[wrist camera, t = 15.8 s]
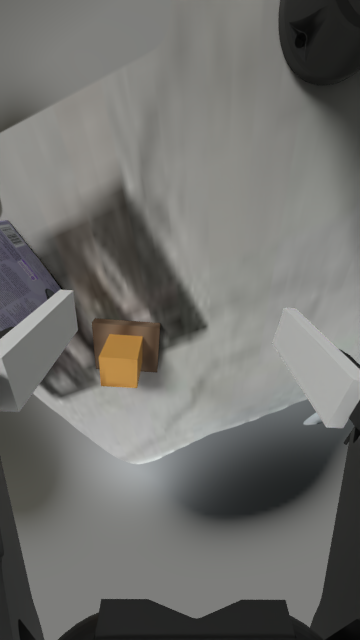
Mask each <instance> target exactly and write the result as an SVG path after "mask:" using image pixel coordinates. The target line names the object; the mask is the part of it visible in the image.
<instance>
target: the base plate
mask: <svg viewBox="0 0 360 640" xmlns="http://www.w3.org/2000/svg"><path fill="white" fill-rule="evenodd" d="M92 330H93V341H94V352H95V363H96V369H100V367H99V355H100V353H101V351H102V349H103V347H104V345H105V343H106V340H107V338H108V336H109V334H115V335H130V336H143V347H142V366H141V371H144V372H157V368H158V352H159V336H160V323H150V322H136V321H123V320H109V319H96V318H95V319H94V320H93V322H92Z"/></svg>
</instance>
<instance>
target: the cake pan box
mask: <svg viewBox="0 0 360 640" xmlns="http://www.w3.org/2000/svg"><path fill="white" fill-rule="evenodd" d="M59 290H62V289H61V288H60V287H59V285H58V284H57V283H56V281H55V280H54V279H53V278H52V276H51V274H50V272H49V271H48V270H47V268H46V267H45V266H44V265H43V263H42V262H41V261H40V259H39V258H38V257H37V256H36V255H35V254H34V253H33V252H32V250H31V249H30V248H29V247H28V245H27V244H26V243H25V241H24V240H23V239H22V238H21V236H20V235H19V234H18V233H17V231H16V230H15V229H14V228H13V226H12V225H11V223H10V222H9V221H8V220H5V221H0V331H2V330H4V329H6V328H9V327H15V326H17V325H18V324H19V323H20V322H21V321H23V320H24V319H25V318H26V317H27V316H29V315H30V314H31V313H32V312H34V311H35V310H36V309H37V308H38V307H40V306H41V305H42V304H43V303H44V302H46V301H47V300H48V299H49V298H50V297H52V296H53V295H54V294H55V293H57V292H58V291H59Z"/></svg>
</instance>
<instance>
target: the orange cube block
mask: <svg viewBox="0 0 360 640" xmlns="http://www.w3.org/2000/svg"><path fill="white" fill-rule="evenodd" d="M142 347H143V336H130V335H115V334H109V336H108V338H107V340H106V343H105V345H104V347H103V349H102V351H101V353H100V355H99V367H100V378H101V386H111V387H129V388H137V386H138V381H139V376H140V371H141V366H142Z"/></svg>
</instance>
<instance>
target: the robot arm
mask: <svg viewBox="0 0 360 640" xmlns="http://www.w3.org/2000/svg"><path fill="white" fill-rule="evenodd" d="M279 35H280V41H281V46H282V50H283V53H284V55H285V58H286V60H287V62H288V64H289V65H290V67H291V69H292V70H293V71H294V72H295V73H296V74H297V75H298V76H299V77H300V78H301V79H303V80H304V81H306V82H309V83H311V84H315V85H330V84H334V83H338V82H340V81H342V80H344V79H346V78H348V77H350V76H351V75H353V74H354V73H356V72H357V71H359V70H360V0H280V7H279ZM77 331H78V326H77V318H76V310H75V302H74V294H73V291H72V290H59V291H58V292H57V293H55V294H54V295H53V296H52V297H50V298H49V299H48V300H47V301H46V302H44V303H43V304H42V305H41V306H40V307H38V308H37V309H36V310H35V311H34V312H32V313H31V314H30V315H29V316H27V317H26V318H25V319H24V320H23V321H21V322H20V323H19V324H18V325H17V326H15V327H9V328H6V329H4V330H2V331H0V411H7V412H19V411H20V410H21V408H22V407H23V406H24V404H25V403H26V402H27V400H28V399H29V397H30V396H31V394H32V393H33V392H34V391H35V389H36V388H37V386H38V385H39V384H40V382H41V381H42V379H43V378H44V377H45V375H46V374H47V372H48V371H49V370H50V368H51V367H52V365H53V364H54V363H55V361H56V360H57V359H58V357H59V356H60V354H61V353H62V352H63V350H64V349H65V347H66V346H67V345H68V343H69V342H70V340H71V339H72V338H73V336H74V335H75V333H76V332H77ZM272 344H273V346H274V347H275V349H276V350H277V352H278V354H279V355H280V357H281V358H282V360H283V361H284V363H285V364H286V366H287V367H288V369H289V371H290V372H291V374H292V375H293V377H294V378H295V380H296V381H297V383H298V384H299V386H300V387H301V389H302V391H303V392H304V394H305V395H306V397H307V398H308V400H309V401H310V403H311V404H312V406H313V408H314V409H315V410H316V412H317V414H318V415H319V417H320V418H321V420H322V421H323V423H324V424H325V426H326V427H328V428H343V427H344V426H345V424H346V423H347V421H348V419H350V420H351V421H352V423H353V424H354V425H355V427H354V428H353V430H352V431H351V433H350V434H349V436H348V437H347V439H346V440H345V442H344V444H347V443H348V442H349V446H348V452H347V458H346V463H345V469H344V474H343V480H342V486H341V492H340V497H339V503H338V508H337V514H336V520H335V526H334V531H333V537H332V542H331V548H330V554H329V559H328V565H327V571H326V577H325V582H324V588H323V593H322V598H321V601H320V604H319V606H318V608H317V611H316V613H315V615H314V617H313V621H312V623H311V626H310V628H309V627H308V626H307V625H305V624H304V623H302V622H301V621H299V620H297V619H295V618H294V617H292V616H290V615H289V612H288V609H287V604H286V601H285V600H240V601H238V602H236V603H233V604H231V605H229V606H227V607H225V608H222V609H220V610H218V611H215V612H213V613H211V614H208V615H206V616H204V617H202V618H198V619H195V618H191V617H189V616H186V615H184V614H182V613H179V612H177V611H174V610H172V609H170V608H167V607H165V606H163V605H160V604H158V603H156V602H153V601H151V600H148V599H101V604H100V610H99V613H96V614H94V615H92V616H89V617H88V618H86V619H84V620H83V621H81V622H79V623H77V624H76V625H75V626H74V627H72V628H71V629H70V630H68V631H67V632H66V633H65V634H63V635H62V636H61V637H60V638H59V639H58V640H360V365H359V364H358V363H357V362H356V361H355V360H354V359H353V358H352V357H351V356H350V355H348V354H347V353H345V352H343V351H342V350H340V349H338V348H337V347H336V346H335V345H334V344H333V343H332V342H331V341H329V340H328V339H327V338H326V337H325V336H324V335H323V334H322V333H321V332H320V331H319V330H318V329H317V328H316V327H315V326H314V325H313V324H312V323H310V322H309V321H308V320H307V319H306V318H305V317H304V316H303V315H302V314H301V313H300V312H299V311H298V310H297V309H296V308H284V309H283V312H282V315H281V318H280V321H279V324H278V327H277V330H276V333H275V336H274V339H273V342H272ZM0 640H44V637H43V633H42V629H41V625H40V622H39V618H38V615H37V612H36V609H35V606H34V603H33V599H32V596H31V592H30V587H29V583H28V578H27V574H26V569H25V565H24V560H23V556H22V551H21V547H20V542H19V538H18V533H17V529H16V524H15V520H14V516H13V511H12V506H11V502H10V497H9V493H8V489H7V484H6V480H5V476H4V471H3V466H2V462H1V457H0Z"/></svg>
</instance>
